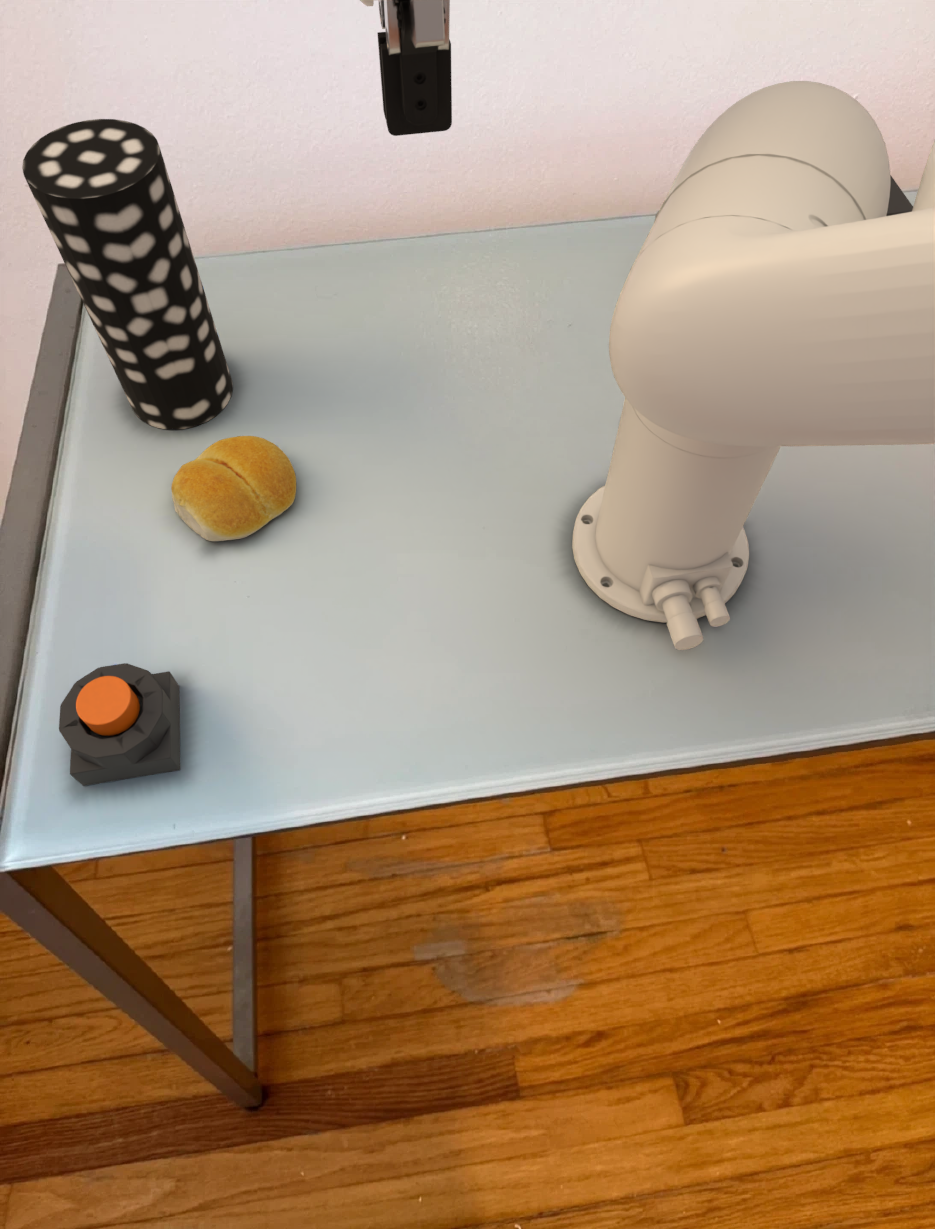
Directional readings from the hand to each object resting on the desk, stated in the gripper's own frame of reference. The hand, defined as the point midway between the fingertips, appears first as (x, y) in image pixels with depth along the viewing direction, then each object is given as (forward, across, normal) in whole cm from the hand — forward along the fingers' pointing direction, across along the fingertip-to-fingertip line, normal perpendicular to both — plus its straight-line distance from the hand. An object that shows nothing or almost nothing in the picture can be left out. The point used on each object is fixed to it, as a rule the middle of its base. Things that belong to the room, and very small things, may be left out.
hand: (417, 123), depth 43 cm
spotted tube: (+27, -12, -19) cm, 35 cm away
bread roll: (+27, 0, -15) cm, 31 cm away
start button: (+24, +18, -23) cm, 37 cm away
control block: (+27, +18, -22) cm, 40 cm away
